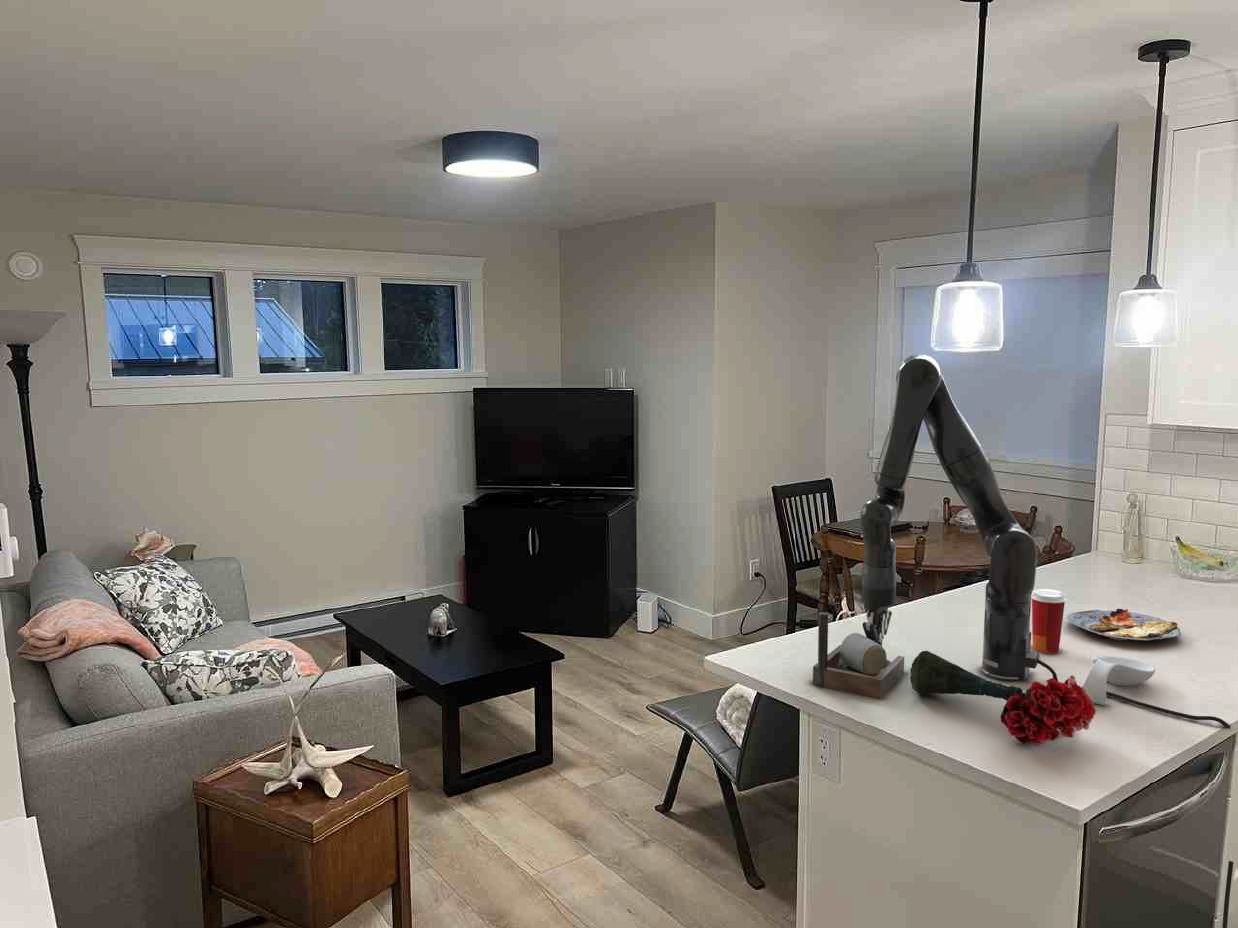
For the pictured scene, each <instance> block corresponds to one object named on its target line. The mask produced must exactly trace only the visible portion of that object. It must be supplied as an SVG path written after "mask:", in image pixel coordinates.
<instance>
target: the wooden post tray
mask: <svg viewBox="0 0 1238 928" xmlns="http://www.w3.org/2000/svg"><path fill="white" fill-rule="evenodd" d="M833 619H834V617H833V615H832V614H829V613H828V612H825V611H819V612H818V629H817V630H818V633H817V634H818V637H817V663H816V664H814V665H813V666H812V685H814V686H818V687H823V688H829V689H833V690H837V691H838V690H839V691H842V692H846V693H847V692H848V693H851V694H857V695H862V696H867V697H870V698H875V699H882V697H884V696H885V694H886V693H887V692H888V691H889V690H890V689H891V688H892V687H893V686H894V685H895V684H896V683H897V682H898V681H899V680H900V679H901V677H902V676H904V674H905V656H902V655H898V656H896V657H895V658H894V659H893V660H892V661H891V663H890V664H889V665H888V666H887V667H884V668H883V669H882V670H881V671H880V672H879V674H878V675H877V676H874V675H869V674H865V673H859V672H855V671H848V670H844V669H840V668H841V667H842V666H843V665H844V664H845V663H844V662H843V661H842V660H841V657H840V647H841V644H839V645H838V646H837V647H835V648H833V650H832V651H831V652H829V653H828V650H829V649H828V648H829V647H828V646H829V622H831V621H832V620H833Z"/></svg>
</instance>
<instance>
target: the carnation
mask: <svg viewBox="0 0 1238 928" xmlns="http://www.w3.org/2000/svg"><path fill="white" fill-rule="evenodd" d="M909 679H910V684H911V688H912V689H913V690H914V691H915V692H916V693H918V694H925V695H927V694H930V695H931V694H934V695H935V694H937V695H939V694H941V695H959V694H960V695H968V696H981V697H982V696H986V697H991V698H995V699H1002V700H1004V701H1006V702H1005V703H1004V705H1003V708H1002V711H1001V714H1000V717H999V718H1000V723H1001V724H1003V725H1004V726H1005V727H1006V729H1007V731H1008V733H1009V735H1010V736H1012V737H1014V738H1015V739H1016V740H1017V741H1018V742H1019V743H1021V744H1023V745H1025V744H1029V743H1032V744H1034V745H1039V744H1043V743H1046V742H1047V741H1052V742H1054V741H1055V740H1057V739H1059V738H1060V733H1061V734H1062V735H1063V736H1064V737H1066V738H1070V739H1073V738H1074V736H1073V735H1074V733H1076V732H1080V731H1082V730H1087V731H1088V730H1089V729H1090V724H1091V723H1092V720H1094V719H1095V716H1096V712H1097V711H1096V708H1095V706H1094V705H1093V704H1094V703H1093V700H1092V698H1091V696H1090V694H1089V693H1088V691H1087V688H1086V687H1085V686H1084V685H1083V686H1080V685H1078V682H1077V680H1076V677H1075V676H1074V675H1073V674H1072V675H1070V677H1069V678H1067V679H1066V680H1064V681H1063V682H1062V681H1061V682H1060V681H1059V682H1057V681H1056V680H1055V679H1054V677H1053V676H1052V677H1051V678H1048V679H1046V685H1045V684H1043V683H1041V682H1040V681H1032V683H1031V685H1030V687H1029V688H1027V689H1026V691H1025V692H1023V691H1024V690H1023V689H1022V688H1021V686H1020V687H1019V686H1014V685H1006V684H1002V683H1001V682H994V681H992V680H988V679H986V678H984V677H982V676H979V675H977V674H974V673H973V672H970V671H968V670H967V669H965V668H963V667H961V666H959V665H957V664H955V663H953V662H951V661H949V660H947V659H945V658H943V657H941V656H939V655H937V654H935V653H933V652H931V651H929V650H922V651H920V652H919V654H917V656H916V657H915V658H914V659H913V661H912V663H911V667H910V678H909Z"/></svg>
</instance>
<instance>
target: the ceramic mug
mask: <svg viewBox="0 0 1238 928" xmlns="http://www.w3.org/2000/svg"><path fill="white" fill-rule="evenodd" d="M840 645H841V647H840V657H841V660H842V661H843V662H844V664H845V665H847V666H848V667H851V668H852V669H854V670H857V671H859V672H861V673H862V674H864V675H869V676H874V675H877V674H878V673H881V672H882V671H883V670H884V668H886V667H887V666H888V665H889V664H890V663H891V662H892V661H891V660H889V659H887V651H886V649H885V648H884V647H883V645H882V646H881V645H879V644H878V643H876V642H874V641H872V640H870V639H869V638H867V637H866V635H863V634H861V633H859V632H852V633H850V634H848V635H846V637H845V638H844V639H843V640H842V641H841V644H840Z"/></svg>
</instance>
